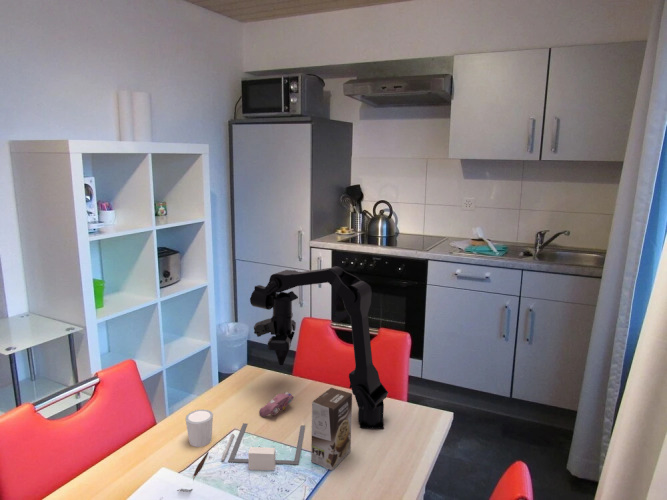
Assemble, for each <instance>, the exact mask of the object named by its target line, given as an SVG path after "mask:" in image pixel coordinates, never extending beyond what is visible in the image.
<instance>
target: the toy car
mask: <svg viewBox="0 0 667 500" xmlns="http://www.w3.org/2000/svg"><path fill="white" fill-rule="evenodd" d="M293 400H294V395H293V394H292V393H290V392H288V391H286V392H283V393H279V394H277V395H275V396H274V397H273V398H272V399H271V400H269V401H268V402H267V403H266V404H265V405H264V406H262V407H261V408H259V410H258V414H259V415H260V416H261V417H267V416H269V415H272V416H276V415H277V414H278V412H279V411H281V412H282V411H284V410H285V409H286V408H287V406H288V405H289V404H291V402H292V401H293Z"/></svg>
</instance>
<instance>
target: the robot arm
mask: <svg viewBox="0 0 667 500" xmlns="http://www.w3.org/2000/svg"><path fill="white" fill-rule="evenodd" d="M326 283H328V284H329V285H330V286H331V287H332V289H333V291H334V292H335V294H336V295H338V296H339V297H340V298H341V300H342V302H343V306H344V309H345V311H346V312H347V314H348V315H349V317H350V325H351V335H352V344H353V354H354V365H355V368H354V369H353V370H352V371H351V372H349V374H348V379H349V389H351V392H352V396H353V395H354V398H355V401H356V405H357V407H358V409H357V410H358V411H357V412H358V413H357V414H358V415H357V417H358V418H357V419H358V421H357V422H358V423H359V428H360V429H375V430H381V429H382V430H383V429H385V426H384V425H385V424H384V411H385V410H384V408H385V407H384V406H385V403H384V400H386V398H387V396H388V394H389V391H388V390H387V389H386V387H385V386H384V384H383V383H382V382H381V379H380V376H379V375H380V374H379V372H378V369H377V368H376V367H375V365H374V363H373V355H372V343H371V336H370V335H371V334H370V333H371V332H370V324H369V312H370V311H369V310H370V307H371V305H372V296H373V295H372V293H373V292H372V286H371V285H369V283H367V282H365V281H363V280H361V279H360V277H358V276H355V274H352V273H349V272H347V271H346V270H344V269H343V268H342V267H340V266H338V265H337V266H336V265H335V266H332V267H328V268H327V267H326V268H321V269H320V268H319V269H314V270H305V271H298V270H295V269H293V270H291V269H285V270H281V271H279V272H276V273H273V274H271V275H270V277H269V281H268V283H267V284H266V286H263V285H261V284H258V285H255V286H254V290H253V291H252V293H251V295H250V297H249V302H250V303H249V304H250V305H251V306H252V307H255V308H259V309H263V310H268V311H269V310H270V311H271V310H272V316H271V317H270V318H266V319H263V320H261V321H258V322H256V323H255V324H254V326H253V331H254V332H253V334H255V335H256V337H258V338H259V337H261V336H264V335H267V334H270V335H271V337H270V338H269V339H268V342H267V350H268V351H275V354H276V358H277V362H278V365H279V366H283V365H284V364H285V361H286V360H287V359H286V358H287V356H288V353H289V352H290V349H291V346H292V345H291V344H292V340H293V339H294V336H295V332H296V329H297V322H296V321H295V320H294V319H293V317H294V314H293V301H295V300H298V299H299V296H298V295H297V294H296V293H295V292H294V291H293V290H291V289H294V288H296V287H302V286H310V285H318V284H319V285H320V284H326ZM288 290H291V291H288ZM286 291H288V292H286Z"/></svg>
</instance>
